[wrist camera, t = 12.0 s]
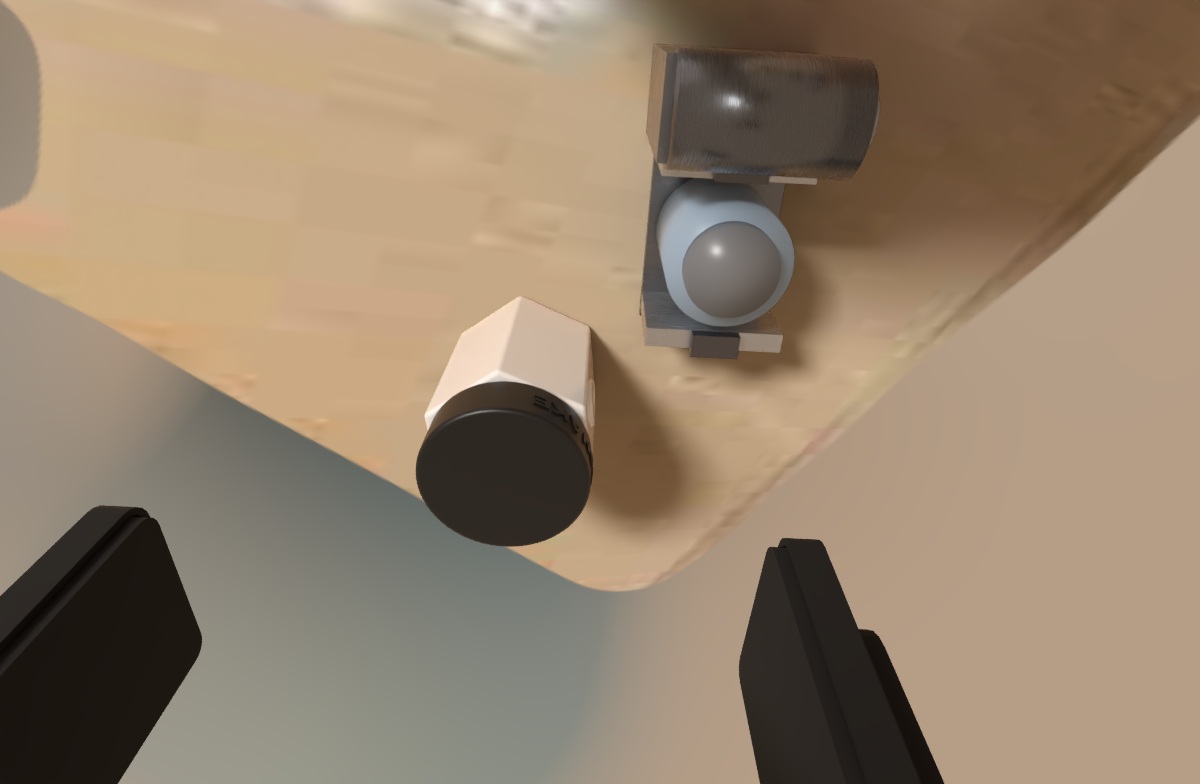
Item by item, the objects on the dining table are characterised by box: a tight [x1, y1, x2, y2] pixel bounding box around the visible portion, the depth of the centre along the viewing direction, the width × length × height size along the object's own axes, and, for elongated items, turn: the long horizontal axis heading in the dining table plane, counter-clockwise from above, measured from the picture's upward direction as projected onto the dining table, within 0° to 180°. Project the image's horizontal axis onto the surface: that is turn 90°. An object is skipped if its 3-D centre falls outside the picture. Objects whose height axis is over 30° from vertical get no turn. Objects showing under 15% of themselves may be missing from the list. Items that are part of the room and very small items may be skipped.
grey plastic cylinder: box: [656, 178, 795, 326], centre depth 32 cm, size 6×6×7 cm
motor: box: [639, 44, 880, 359], centre depth 30 cm, size 14×8×10 cm, turn 177°
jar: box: [416, 296, 595, 546], centre depth 35 cm, size 9×8×12 cm
